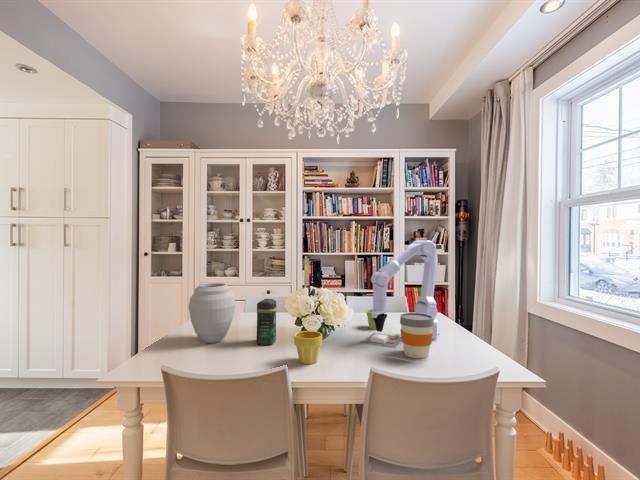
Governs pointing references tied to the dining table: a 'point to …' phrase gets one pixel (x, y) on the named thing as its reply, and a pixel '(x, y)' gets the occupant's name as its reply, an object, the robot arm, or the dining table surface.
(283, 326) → the dining table surface
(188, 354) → the dining table surface
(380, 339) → the tile
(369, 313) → the plant pot
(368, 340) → the mat
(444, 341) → the dining table surface
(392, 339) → the wooden plank
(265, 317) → the coffee jar
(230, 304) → the vase
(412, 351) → the reusable coffee cup
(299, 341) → the plant pot
